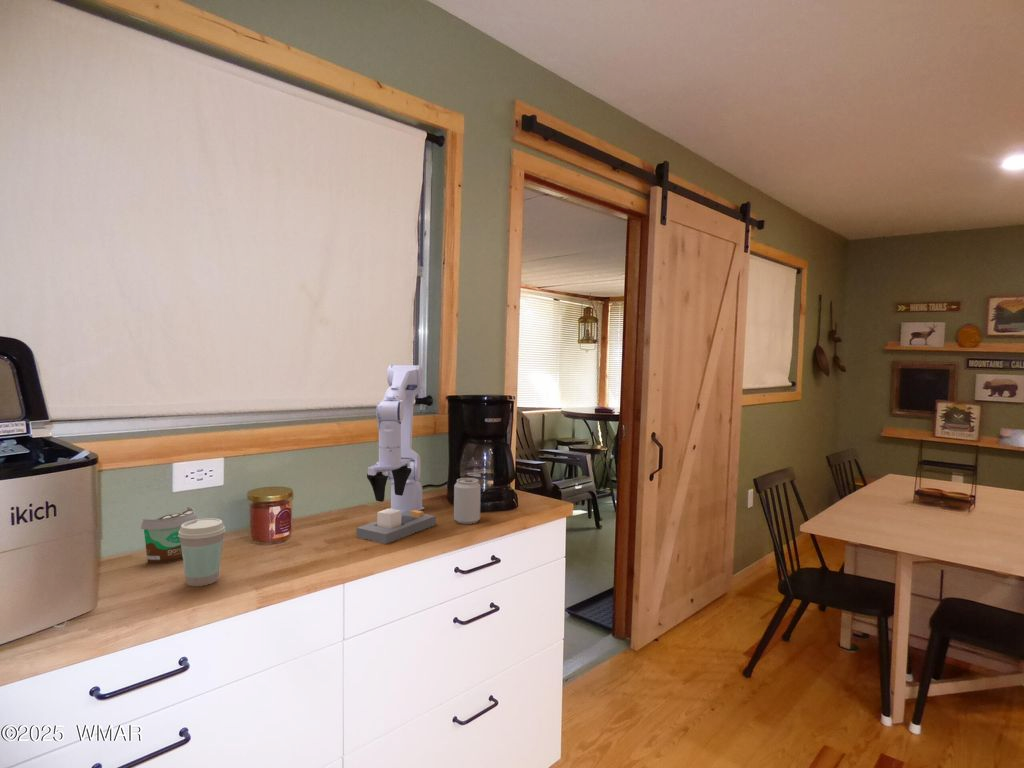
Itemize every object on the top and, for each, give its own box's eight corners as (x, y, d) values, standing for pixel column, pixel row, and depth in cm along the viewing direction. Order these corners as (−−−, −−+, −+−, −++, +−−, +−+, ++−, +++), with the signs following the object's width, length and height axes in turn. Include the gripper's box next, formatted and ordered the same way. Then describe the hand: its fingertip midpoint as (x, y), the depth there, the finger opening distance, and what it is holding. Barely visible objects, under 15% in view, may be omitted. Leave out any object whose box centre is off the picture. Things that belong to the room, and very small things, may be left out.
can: (482, 518, 169) (483, 477, 169) (476, 525, 162) (477, 482, 161) (457, 516, 171) (458, 476, 170) (450, 523, 163) (451, 481, 163)
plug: (388, 530, 156) (388, 508, 156) (401, 533, 154) (401, 510, 154) (376, 534, 152) (377, 512, 152) (390, 537, 150) (390, 514, 150)
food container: (161, 568, 126) (161, 522, 126) (141, 564, 128) (140, 519, 128) (209, 551, 138) (209, 509, 137) (189, 547, 140) (189, 506, 139)
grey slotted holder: (407, 519, 167) (407, 507, 167) (435, 524, 162) (435, 512, 162) (356, 537, 150) (356, 523, 150) (385, 544, 145) (385, 530, 145)
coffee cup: (205, 570, 125) (205, 515, 125) (235, 577, 122) (234, 520, 121) (168, 585, 117) (167, 526, 117) (199, 592, 114) (198, 531, 113)
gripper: (396, 441, 161) (395, 490, 162) (358, 448, 148) (358, 501, 149) (416, 444, 158) (416, 493, 158) (380, 451, 145) (379, 505, 146)
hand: (389, 497), depth 154 cm, fingers open, 7 cm apart
